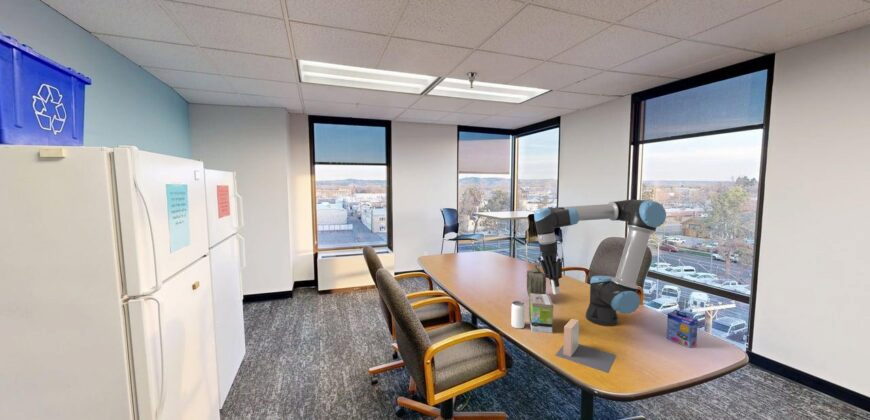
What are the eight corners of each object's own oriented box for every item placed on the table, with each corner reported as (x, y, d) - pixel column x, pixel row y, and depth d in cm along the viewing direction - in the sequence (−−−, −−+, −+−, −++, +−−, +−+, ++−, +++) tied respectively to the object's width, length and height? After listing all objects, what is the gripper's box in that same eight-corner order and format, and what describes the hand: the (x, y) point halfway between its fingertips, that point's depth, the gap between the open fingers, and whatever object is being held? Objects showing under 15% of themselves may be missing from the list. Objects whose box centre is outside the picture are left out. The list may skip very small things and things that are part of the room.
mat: (554, 356, 135) (554, 355, 135) (566, 341, 147) (566, 340, 147) (608, 374, 122) (608, 373, 122) (616, 356, 135) (616, 355, 135)
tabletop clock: (526, 296, 205) (527, 257, 203) (541, 296, 204) (542, 257, 202) (529, 304, 191) (530, 263, 189) (545, 305, 190) (546, 263, 188)
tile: (563, 354, 136) (564, 326, 135) (570, 344, 143) (571, 318, 142) (571, 356, 134) (572, 328, 132) (578, 347, 141) (579, 320, 140)
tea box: (553, 334, 154) (553, 304, 153) (531, 332, 156) (531, 303, 155) (548, 321, 169) (549, 293, 168) (528, 319, 171) (529, 292, 170)
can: (522, 330, 159) (522, 306, 158) (509, 327, 162) (509, 304, 161) (526, 325, 164) (526, 302, 163) (513, 322, 168) (513, 299, 167)
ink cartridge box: (665, 338, 149) (667, 308, 148) (672, 335, 152) (673, 306, 151) (690, 348, 141) (692, 316, 139) (696, 345, 143) (698, 313, 142)
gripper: (531, 244, 153) (539, 293, 152) (553, 244, 141) (562, 297, 141) (542, 241, 156) (550, 289, 156) (564, 240, 145) (573, 293, 145)
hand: (556, 293), depth 149 cm, fingers closed
